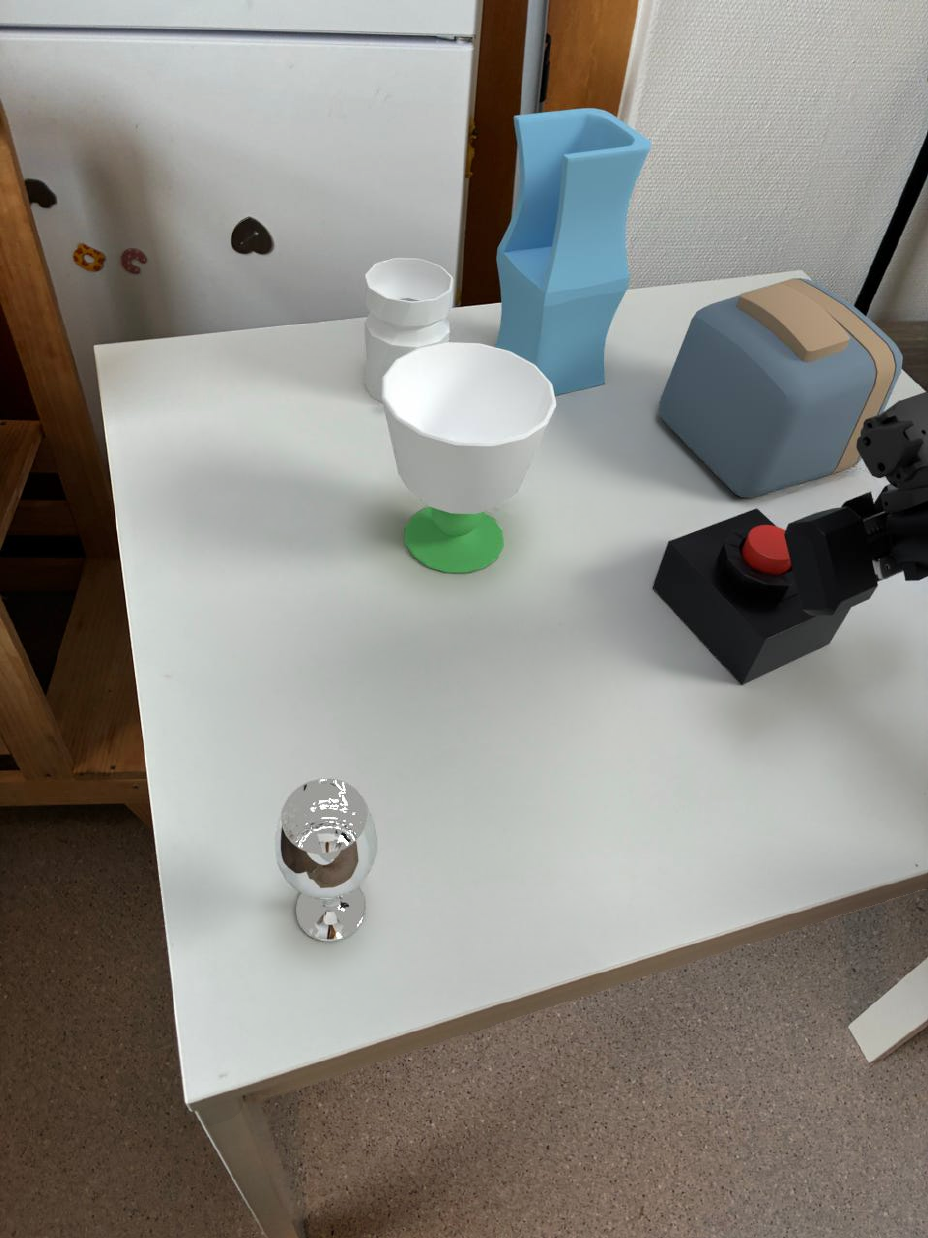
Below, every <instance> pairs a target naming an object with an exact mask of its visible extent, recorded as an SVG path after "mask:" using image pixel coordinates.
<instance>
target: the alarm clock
mask: <svg viewBox="0 0 928 1238" xmlns="http://www.w3.org/2000/svg"><path fill="white" fill-rule="evenodd" d="M903 357H904V356H903V354H902V352H901V350H900V349H899V347H898V345H897V344H896V342H894V340H892V338H890V337H889V336H888V335H887V334H886V333H885V332H884V331H883V330H882V329H881V328H880V327H879V326H878V325H876V324H875V323H874V322H873V321H872V320H871V319H869V317H868V316H867V315H865V314H864V313H862V312H861V311H860V310H859V309H858V308H857V307H855V306H854V305H853V304H852V303H850V302H849V301H846V300H845V299H844V298H842V297H840V296H839V295H837V294H835V293H834V292H833V291H831V290H830V289H828V288H826V287H824V286H822V285H820V284H819V283H816V282H815V281H812V280H811V279H808V278H801V277H798V278H797V277H793V278H789V279H786V280H783V281H780V282H777V283H776V282H775V283H774V284H770V285H767V286H762V287H761V288H756V289H753V290H749V291H746V292H743V293H740V294H738V295H735V296H732V297H729V298H726V299H723V300H719V301H716V302H713V303H710V304H708V305H706V306H703V307H702V308H700V309H699V310H697V311H696V312H695V314H694V315H693V317H692V318H691V320H690V322H689V325H688V328H687V330H686V334H685V335H684V338H683V341H682V343H681V345H680V348H679V351H678V353H677V355H676V358H675V361H674V363H673V366H672V369H671V371H670V374H669V376H668V378H667V381H666V383H665V387H664V389H663V391H662V394H661V396H660V399H659V404H658V414H659V415H660V417H661V419H662V421H663V423H665V425H667V427H669V428H670V430H672V431H673V433H674V434H676V436H677V437H678V438H679V439H680V440H681V441H682V442H683V443H684V444H685V445H686V446H687V447H688V448H689V449H690V450H691V451H692V453H694V454H695V455H696V456H697V457H698V458H699V459H700V460H701V461H702V462H703V463H704V464H705V466H707V468H709V469H710V471H712V472H713V473H714V474H715V476H717V477H718V479H719V480H720V481H721V482H722V483H724V484H725V486H726V487H727V488H728V489H729V490H730V491H731V492H732V493H733V494H734V495H736V496H738V497H741V498H755V497H759V496H762V495H766V494H769V493H773V492H776V491H780V490H782V489H785V488H790V487H792V486H795V485H798V484H802V483H806V482H808V481H812V480H815V479H818V478H819V479H820V478H823V477H826V476H829V475H832V474H835V473H839V472H842V471H845V470H849V469H851V468H854V467H855V466H856V465H858V464H859V463H860V462H861V460H863V459H862V457H861V456H860V454H859V452H858V450H857V448H856V444H857V439H858V438H859V437H860V436H861V430H862V428H863V423H864V421H865V420H866V419H868V418H871V417H874V416H876V415H879V414H882V413H883V412H884V411H885V409H886V407H887V405H888V403H889V400H890V398H891V396H892V394H893V392H894V389H895V386H896V385H897V383H898V381H899V378H900V376H901V373H902V368H903V360H904V359H903Z"/></svg>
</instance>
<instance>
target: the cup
mask: <svg viewBox="0 0 928 1238" xmlns="http://www.w3.org/2000/svg"><path fill="white" fill-rule="evenodd" d="M382 402H383V403H382ZM382 402H381V403H382V406H383V410H384V415H385V420H386V424H387V429H388V432H389V437H390V442H391V447H392V451H393V455H394V459H395V460H394V461H395V464H396V468H397V473H398V475H399V477H400V479H401V480H402V482H403V483H404V485H405V487H406V489H408V491H409V492H410V493H411V494H412V495H413V496H414V497H415V498H416V499H418V500H419V501H420V502H422V503H423V504H424V505H426V507H425V508H423V509H422V510H420V511H418V512H417V513H415V514H414V515H413V516H412V517H411V518H410V519H409V521H408V522H407V525H406V526H405V528H404V544H405V546H406V548H407V549H408V551H409V552H410V554H411V556H412V557H413V558H415V559H416V560H417V561H419V562H420V563H421V564H423V565H424V566H425V567H427V568H429V569H433V570H437V571H440V572H443V573H446V574H469V573H472V572H476V571H479V570H483V569H486V568H487V567H488V566H489V565H491V564H492V563H494V562H495V561H497V560H498V558H499V557H500V554H501V552H502V551H503V548H504V546H505V541H504V533H503V530H502V528H501V527H500V525H499V524H498V522H497V521H496V520H495V519H494V518H493V517H492V516H490V515H489V514H487V513H486V512H489V511H492V510H495V509H497V508H498V507H500V506H501V505H503V504H504V503H505V502H507V501H508V500H510V499H511V498H512V497H513V496H515V495H516V494H517V493H518V492H519V490H520V488H521V486H522V484H523V482H524V479H525V477H526V475H527V473H528V470H529V469H530V466H531V463H532V461H533V458H534V457H535V455H536V452H537V450H538V448H539V445H540V444H541V441H542V438H543V436H544V434H545V433H546V429H547V427H548V425H549V423H550V421H551V418H552V416H553V414H554V412H555V410H556V407H557V401H556V396H555V395H554V390H553V386H552V384H551V382H550V381H549V380H548V379H547V378H546V377H545V376H544V374H543V373H542V372H541V371H540V370H539V369H538V368H537V367H536V365H534V364H532V363H530V362H529V361H527V360H525V359H523V358H521V357H520V356H518V355H516V354H514V353H512V352H511V351H507V350H503V349H499V348H495V346H491V345H487V344H484V343H480V342H479V343H477V342H457V341H454V342H453V341H449V342H447V343H441V344H436V345H431V346H426V347H420V348H418V349H416V350H414V351H412V352H410V353H408V354H406V355H404V356H402V357H401V358H399V359H397V360H395V362H394V363H393V364H392V366H391V367H390V368H389V370H388V371H387V372H386V374H385V375H384V376H383V378H382ZM427 506H428V507H427Z"/></svg>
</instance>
